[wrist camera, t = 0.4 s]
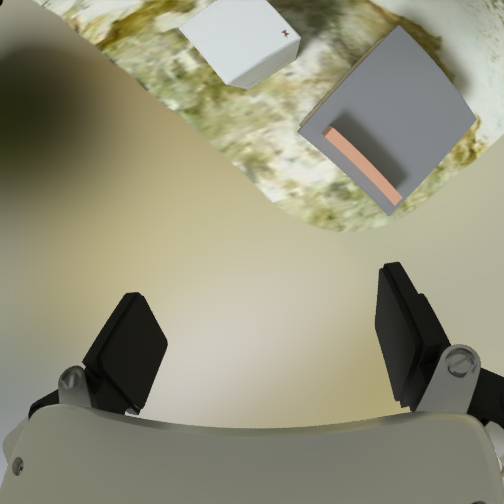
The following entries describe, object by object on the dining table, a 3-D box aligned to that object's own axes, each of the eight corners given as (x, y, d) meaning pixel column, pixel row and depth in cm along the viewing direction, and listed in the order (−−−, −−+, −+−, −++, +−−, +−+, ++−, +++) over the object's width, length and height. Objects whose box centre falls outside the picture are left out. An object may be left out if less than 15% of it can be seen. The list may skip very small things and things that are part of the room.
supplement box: (261, 17, 24) (248, -22, 13) (297, 60, 27) (305, 38, 16) (211, 49, 27) (175, 26, 16) (246, 91, 30) (227, 86, 19)
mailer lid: (395, 26, 18) (408, 20, 15) (472, 117, 21) (488, 122, 18) (297, 131, 26) (299, 135, 23) (385, 212, 29) (395, 225, 26)
